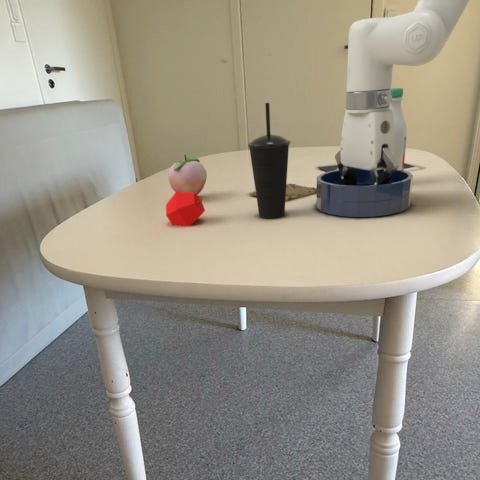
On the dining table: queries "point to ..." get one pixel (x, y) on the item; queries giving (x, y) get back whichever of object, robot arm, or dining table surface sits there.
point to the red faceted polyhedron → (184, 208)
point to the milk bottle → (398, 126)
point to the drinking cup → (270, 171)
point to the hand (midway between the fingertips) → (362, 201)
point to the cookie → (296, 192)
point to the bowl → (363, 194)
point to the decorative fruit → (187, 176)
